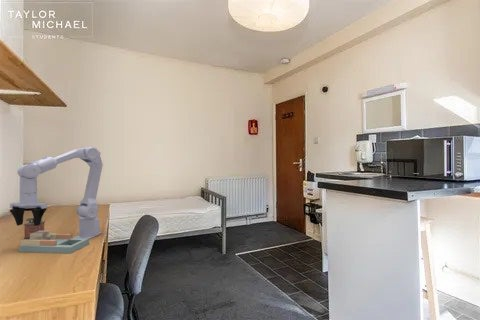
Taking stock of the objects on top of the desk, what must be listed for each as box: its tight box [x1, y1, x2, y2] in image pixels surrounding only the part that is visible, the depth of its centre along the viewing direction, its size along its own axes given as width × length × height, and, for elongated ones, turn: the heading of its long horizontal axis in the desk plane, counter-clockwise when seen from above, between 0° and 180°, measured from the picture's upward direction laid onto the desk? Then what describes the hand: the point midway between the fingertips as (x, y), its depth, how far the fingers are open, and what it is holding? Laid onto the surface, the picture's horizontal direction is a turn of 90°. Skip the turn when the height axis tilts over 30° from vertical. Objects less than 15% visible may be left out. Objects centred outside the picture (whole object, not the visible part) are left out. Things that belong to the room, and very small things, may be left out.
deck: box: [18, 233, 90, 254], centre depth 114 cm, size 12×22×4 cm, turn 86°
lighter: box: [23, 217, 46, 240], centre depth 129 cm, size 8×3×10 cm, turn 141°
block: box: [29, 230, 51, 240], centre depth 115 cm, size 5×5×4 cm
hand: (28, 225), depth 112 cm, fingers open, 7 cm apart
